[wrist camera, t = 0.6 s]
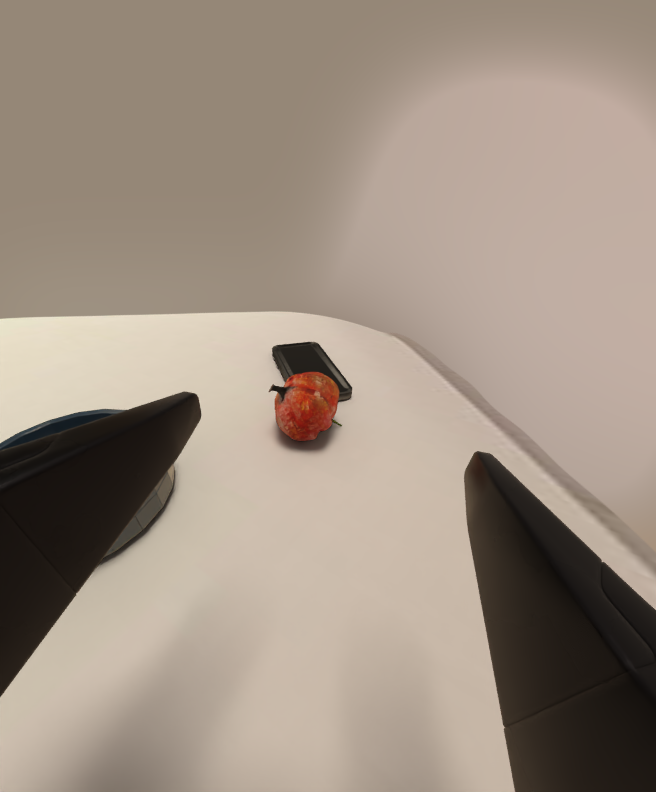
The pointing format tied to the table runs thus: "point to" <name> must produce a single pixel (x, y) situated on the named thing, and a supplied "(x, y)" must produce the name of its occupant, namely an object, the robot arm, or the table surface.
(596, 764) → the robot arm
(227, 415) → the table surface
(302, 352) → the phone
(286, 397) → the pomegranate
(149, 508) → the bowl
